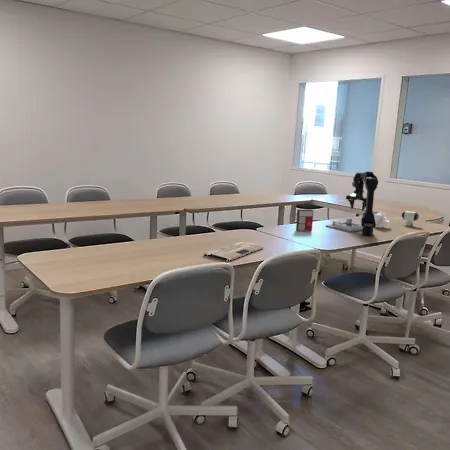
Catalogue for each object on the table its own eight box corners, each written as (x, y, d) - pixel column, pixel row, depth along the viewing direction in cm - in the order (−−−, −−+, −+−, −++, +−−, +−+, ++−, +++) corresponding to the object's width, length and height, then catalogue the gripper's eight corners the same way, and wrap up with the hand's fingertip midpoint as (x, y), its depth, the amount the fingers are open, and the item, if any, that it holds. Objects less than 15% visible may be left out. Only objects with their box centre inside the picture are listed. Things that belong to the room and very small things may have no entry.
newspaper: (229, 263, 249) (229, 258, 248) (200, 256, 259) (200, 251, 259) (263, 249, 278) (264, 245, 278) (237, 244, 289) (237, 239, 288)
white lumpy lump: (389, 229, 347) (391, 214, 345) (373, 228, 349) (374, 213, 347) (387, 226, 358) (389, 211, 355) (371, 225, 360) (373, 210, 358)
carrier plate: (363, 229, 344) (364, 224, 343) (350, 232, 333) (350, 226, 332) (339, 224, 360) (339, 219, 359) (325, 226, 349) (326, 221, 348)
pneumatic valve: (415, 227, 360) (417, 212, 357) (400, 224, 367) (402, 209, 365) (418, 226, 364) (419, 211, 361) (403, 223, 371) (404, 209, 369)
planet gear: (359, 228, 343) (359, 219, 342) (350, 229, 336) (351, 221, 335) (346, 225, 351) (347, 217, 350) (338, 227, 344) (338, 218, 343)
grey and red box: (297, 231, 329) (299, 210, 326) (295, 230, 334) (297, 209, 330) (312, 231, 332) (313, 210, 329) (310, 229, 336) (311, 209, 333)
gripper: (342, 188, 349) (340, 208, 352) (364, 191, 335) (361, 212, 338) (351, 187, 356) (349, 207, 359) (372, 190, 342) (370, 211, 345)
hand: (357, 209), depth 350 cm, fingers open, 9 cm apart
